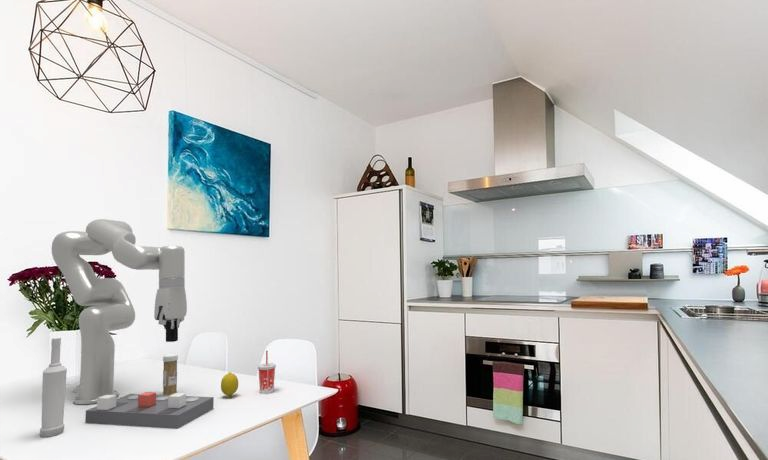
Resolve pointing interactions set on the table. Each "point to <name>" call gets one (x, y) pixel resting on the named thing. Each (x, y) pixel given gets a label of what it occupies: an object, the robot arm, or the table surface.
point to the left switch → (106, 402)
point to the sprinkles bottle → (170, 374)
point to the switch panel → (150, 412)
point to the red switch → (147, 399)
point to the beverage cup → (266, 376)
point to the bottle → (53, 394)
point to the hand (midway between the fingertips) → (171, 341)
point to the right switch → (177, 400)
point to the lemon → (229, 384)
